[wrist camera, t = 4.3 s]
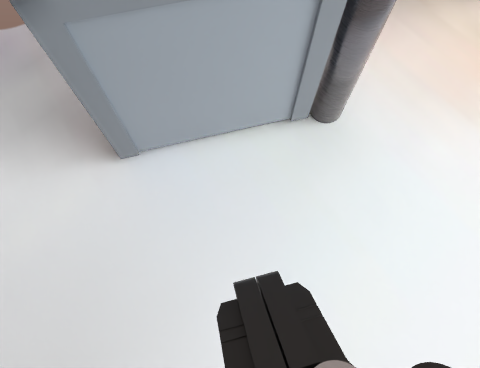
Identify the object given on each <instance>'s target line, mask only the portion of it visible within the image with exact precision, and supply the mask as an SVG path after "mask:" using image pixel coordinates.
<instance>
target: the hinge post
mask: <svg viewBox="0 0 480 368" xmlns="http://www.w3.org/2000/svg"><path fill="white" fill-rule="evenodd" d="M395 2H396V0H347V3H346V6H345V9H344V12H343V15H342V18H341V21H340V23H339V26H338V29H337V32H336V35H335V38H334V41H333V44H332V47H331V50H330V53H329V56H328V59H327V62H326V65H325V68H324V71H323V74H322V77H321V80H320V83H319V86H318V89H317V92H316V95H315V98H314V101H313V104H312V107H311V110H310V113H311V115H312V116H313V118H315V119H316V120H317V121H319V122H322V123H331V122H334V121H336V120H337V119H338V118H339V117H340V115H341V113H342V111H343V109H344V107H345V105H346V103H347V100H348V98H349V96H350V94H351V92H352V90H353V88H354V86H355V84H356V82H357V80H358V78H359V76H360V74H361V72H362V70H363V68H364V66H365V64H366V62H367V60H368V57H369V55H370V53H371V51H372V49H373V47H374V45H375V43H376V41H377V39H378V37H379V35H380V33H381V31H382V29H383V27H384V25H385V23H386V21H387V19H388V17H389V14H390V12H391V10H392V8H393V6H394V4H395Z"/></svg>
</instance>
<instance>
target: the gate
mask: <svg viewBox="0 0 480 368" xmlns="http://www.w3.org/2000/svg"><path fill="white" fill-rule="evenodd" d="M10 3H11V4H12V6H13V7H14V8H15V10H16V11H17V13H18V14H19V15H20V17H21V18H22V20H23V21H24V23H25V24H26V25H27V27H28V28H29V30H30V31H31V32H32V34H33V35H34V37H35V38H36V39H37V41H38V42H39V44H40V45H41V47H42V48H43V49H44V51H45V52H46V54H47V55H48V56H49V58H50V59H51V61H52V62H53V64H54V65H55V66H56V68H57V69H58V71H59V72H60V73H61V75H62V76H63V78H64V79H65V81H66V82H67V83H68V85H69V86H70V88H71V89H72V90H73V92H74V93H75V95H76V96H77V97H78V99H79V100H80V102H81V103H82V105H83V106H84V107H85V109H86V110H87V112H88V113H89V114H90V116H91V117H92V119H93V120H94V122H95V123H96V124H97V126H98V127H99V129H100V130H101V131H102V133H103V134H104V136H105V137H106V139H107V140H108V141H109V143H110V144H111V146H112V147H113V148H114V150H115V151H116V153H117V154H118V155H119V157H120V158H121V159H123V158H127V157H132V156H136V155H139V152H140V151H145V150H149V149H154V148H159V147H163V146H168V145H172V144H177V143H181V142H186V141H190V140H195V139H199V138H204V137H208V136H213V135H217V134H222V133H227V132H231V131H236V130H240V129H245V128H249V127H254V126H258V125H263V124H267V123H272V122H276V121H281V120H285V119H290V120H291V121H294V120H299V119H303V118H308V115H309V113H310V110H311V107H312V104H313V101H314V98H315V95H316V92H317V89H318V86H319V83H320V80H321V77H322V74H323V71H324V68H325V65H326V62H327V59H328V56H329V53H330V50H331V47H332V44H333V41H334V38H335V35H336V32H337V29H338V26H339V23H340V21H341V18H342V15H343V12H344V9H345V6H346V3H347V0H10Z"/></svg>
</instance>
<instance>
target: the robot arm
mask: <svg viewBox="0 0 480 368" xmlns="http://www.w3.org/2000/svg"><path fill="white" fill-rule="evenodd" d="M256 280H257V282H256ZM233 284H234V288H235V293H236V297H237V299H235V300H231V301H228V302H224V303H221V305H220V308H219V311H218V315H217V322H218V328H219V333H220V340H221V345H222V352H223V358H224V364H225V368H356V367H354V366H353V365H352V364H351V363H350V362H349V361H348V360H347V358H346V357H345V355H344V353H343V352H342V350H341V348H340V346H339V344H338V343H337V341H336V339H335V337H334V335H333V333H332V332H331V330H330V328H329V326H328V324H327V322H326V321H325V319H324V317H323V316H322V313H321V311H320V310H319V308H318V306H317V305H316V302H315V300H314V299H313V297H312V295H311V293H310V291H308V290H307V289H306V288H304V287H303V286H302V285H300V284H299V283H298V282H297V283H293V284H290V285H286V286H285V285H284V283H283V281H282V279H281V277H280V274H279V272H278V271H275V272H271V273H268V274H264V275H260V276H256V279H255V277H253V278H249V279H246V280H242V281H238V282H234V283H233ZM412 368H450V367H448V366H445V365H443V364H439V363H433V362H425V363H420V364H417V365H415V366H413V367H412Z"/></svg>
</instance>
